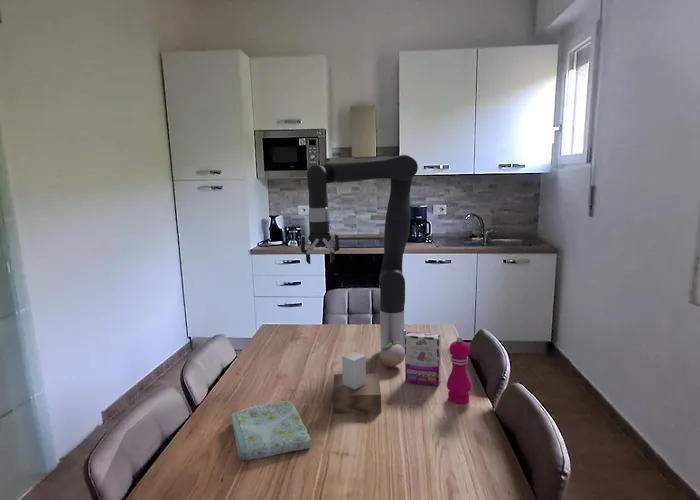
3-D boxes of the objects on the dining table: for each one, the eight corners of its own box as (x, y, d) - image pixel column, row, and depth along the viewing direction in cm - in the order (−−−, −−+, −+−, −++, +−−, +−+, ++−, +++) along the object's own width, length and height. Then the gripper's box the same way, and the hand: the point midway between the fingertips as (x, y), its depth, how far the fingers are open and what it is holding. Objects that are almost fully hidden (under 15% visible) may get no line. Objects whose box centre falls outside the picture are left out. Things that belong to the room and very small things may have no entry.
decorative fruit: (396, 375, 155) (396, 347, 153) (376, 369, 160) (376, 342, 158) (409, 365, 162) (409, 339, 160) (390, 360, 167) (390, 334, 165)
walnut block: (378, 390, 145) (378, 373, 144) (381, 413, 131) (380, 394, 130) (334, 391, 145) (334, 374, 144) (333, 414, 131) (332, 395, 130)
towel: (293, 411, 134) (292, 395, 133) (312, 451, 114) (311, 433, 113) (230, 423, 127) (229, 407, 127) (239, 468, 108) (237, 449, 107)
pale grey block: (354, 379, 140) (353, 351, 139) (366, 383, 137) (365, 355, 135) (342, 384, 137) (342, 356, 135) (354, 389, 133) (353, 360, 132)
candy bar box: (440, 380, 150) (441, 333, 148) (438, 386, 146) (439, 338, 143) (407, 376, 154) (407, 330, 151) (404, 382, 149) (404, 335, 146)
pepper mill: (468, 393, 141) (470, 332, 137) (472, 405, 134) (474, 341, 130) (445, 392, 141) (446, 332, 138) (448, 404, 134) (448, 340, 131)
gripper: (301, 221, 160) (302, 266, 163) (340, 219, 164) (341, 263, 166) (298, 219, 168) (300, 262, 170) (335, 218, 171) (337, 260, 174)
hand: (320, 263), depth 168 cm, fingers open, 8 cm apart
